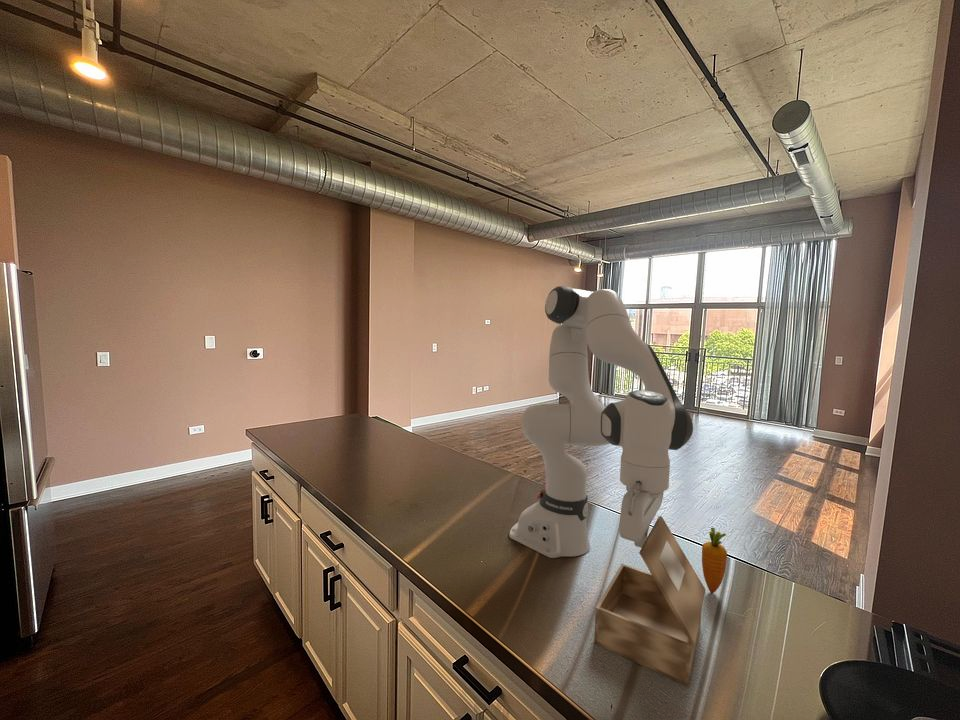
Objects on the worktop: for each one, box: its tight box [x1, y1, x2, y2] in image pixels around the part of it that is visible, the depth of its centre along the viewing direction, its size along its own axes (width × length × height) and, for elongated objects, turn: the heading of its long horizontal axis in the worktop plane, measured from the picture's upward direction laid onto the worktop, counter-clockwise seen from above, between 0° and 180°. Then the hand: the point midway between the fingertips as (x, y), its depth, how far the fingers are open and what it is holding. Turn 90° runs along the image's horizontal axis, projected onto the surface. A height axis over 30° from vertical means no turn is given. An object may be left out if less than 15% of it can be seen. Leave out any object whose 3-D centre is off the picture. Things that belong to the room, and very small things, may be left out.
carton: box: [593, 563, 702, 688], centre depth 78 cm, size 16×18×7 cm
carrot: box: [701, 527, 728, 594], centre depth 91 cm, size 5×5×15 cm
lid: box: [638, 515, 706, 644], centre depth 75 cm, size 16×18×1 cm
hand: (640, 544), depth 78 cm, fingers closed
